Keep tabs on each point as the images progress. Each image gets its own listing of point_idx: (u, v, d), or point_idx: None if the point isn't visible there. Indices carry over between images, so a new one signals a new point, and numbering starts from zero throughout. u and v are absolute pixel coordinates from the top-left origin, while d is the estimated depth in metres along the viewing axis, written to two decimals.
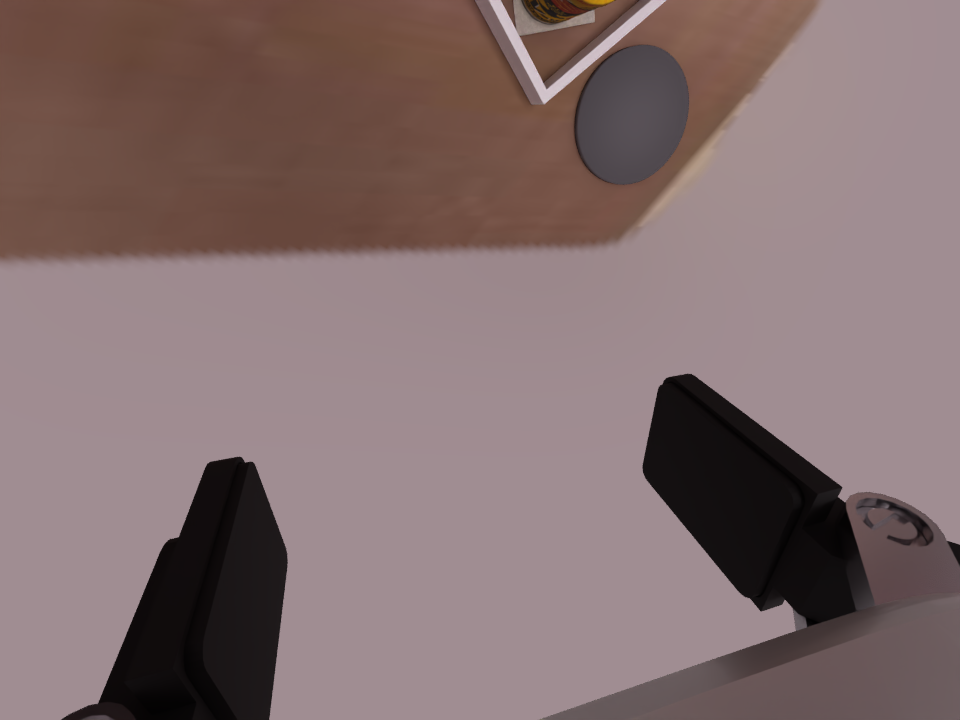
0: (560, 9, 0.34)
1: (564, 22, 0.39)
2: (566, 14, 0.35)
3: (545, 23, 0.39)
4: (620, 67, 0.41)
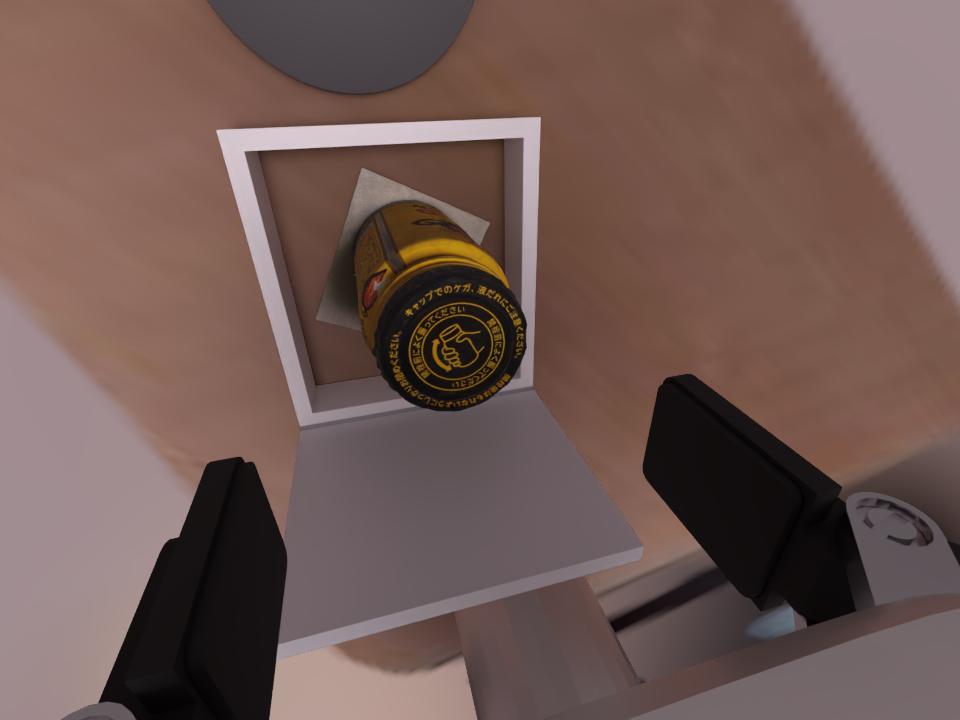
0: None
1: (412, 197, 0.23)
2: None
3: (443, 213, 0.24)
4: (340, 60, 0.19)
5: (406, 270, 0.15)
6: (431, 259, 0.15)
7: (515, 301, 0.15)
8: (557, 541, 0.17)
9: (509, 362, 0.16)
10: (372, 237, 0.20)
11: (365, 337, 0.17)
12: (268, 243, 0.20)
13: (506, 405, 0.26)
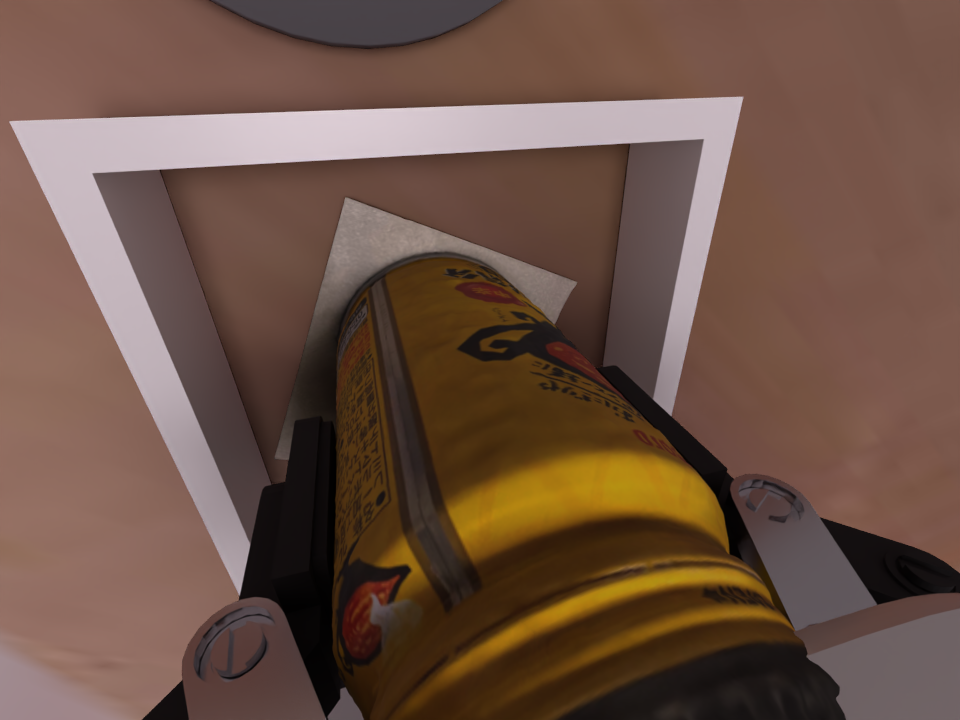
0: None
1: (442, 246, 0.13)
2: (566, 339, 0.09)
3: (497, 272, 0.13)
4: None
5: (485, 637, 0.04)
6: (574, 590, 0.04)
7: None
8: None
9: None
10: (367, 362, 0.09)
11: (351, 695, 0.06)
12: (175, 363, 0.09)
13: None
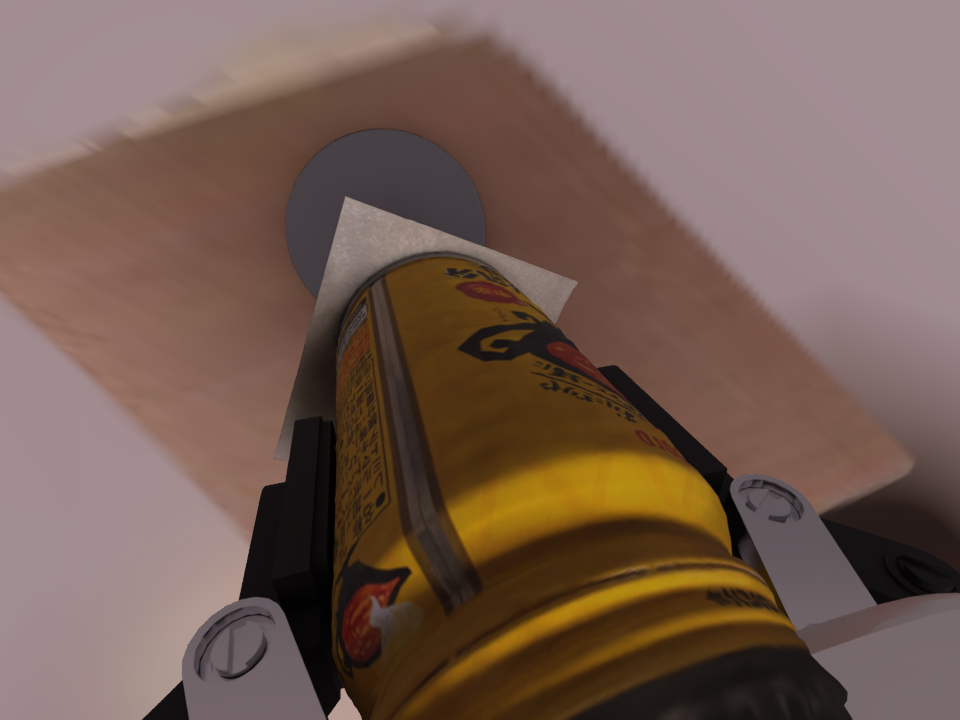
0: None
1: (443, 246, 0.13)
2: None
3: (498, 272, 0.13)
4: None
5: (486, 640, 0.04)
6: (576, 594, 0.04)
7: None
8: None
9: None
10: (367, 363, 0.09)
11: (351, 698, 0.06)
12: None
13: None
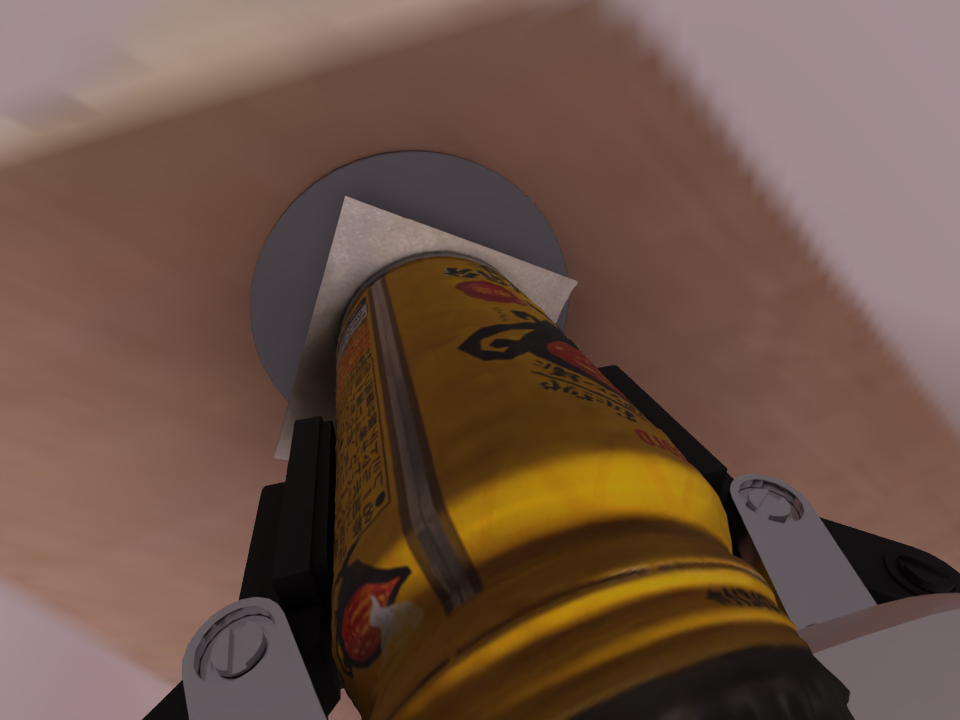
0: None
1: (442, 245, 0.13)
2: (567, 339, 0.09)
3: (498, 272, 0.13)
4: None
5: (486, 639, 0.04)
6: (576, 592, 0.04)
7: None
8: None
9: None
10: (367, 362, 0.09)
11: None
12: None
13: None
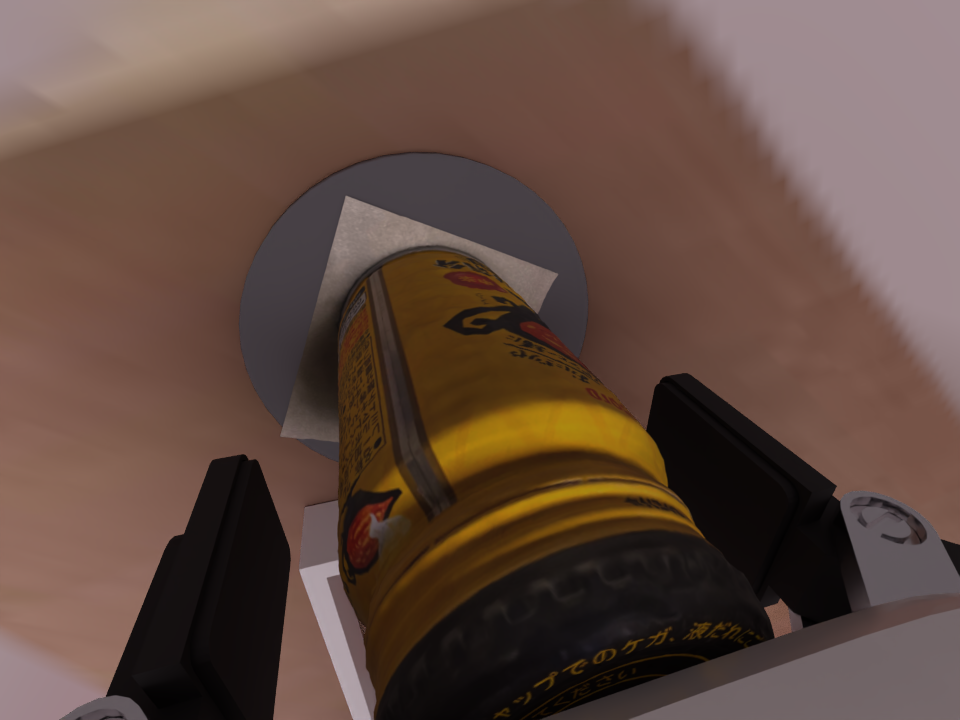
0: None
1: (434, 240, 0.14)
2: None
3: (484, 265, 0.15)
4: None
5: (457, 530, 0.05)
6: (524, 495, 0.05)
7: (763, 614, 0.05)
8: None
9: None
10: (366, 340, 0.10)
11: None
12: (344, 631, 0.19)
13: None
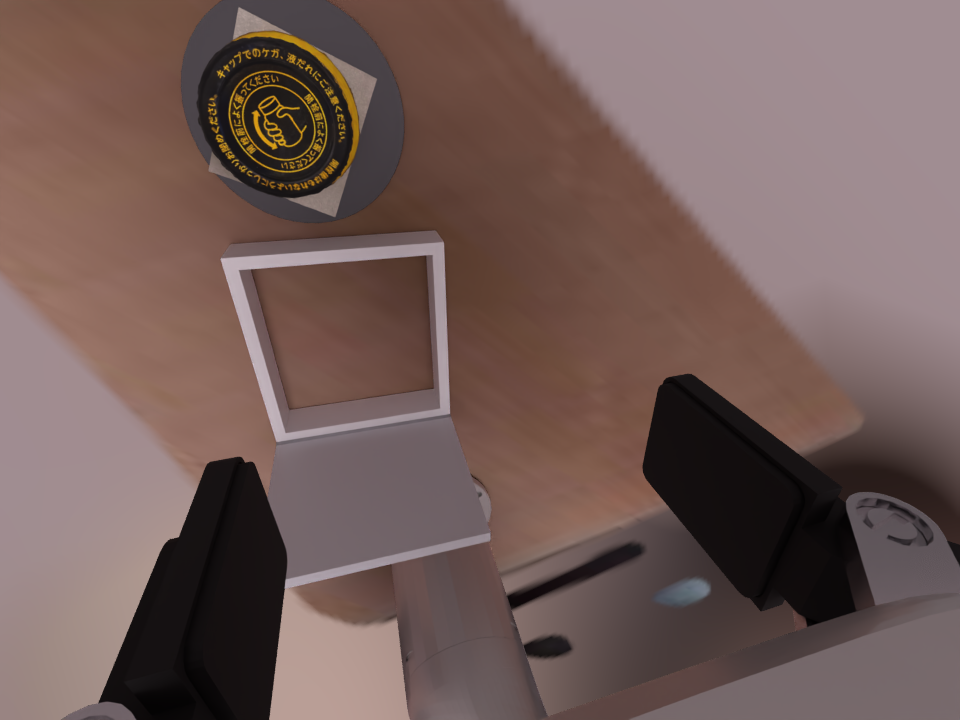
0: None
1: None
2: None
3: None
4: None
5: None
6: None
7: (330, 78, 0.16)
8: (437, 528, 0.28)
9: (334, 146, 0.17)
10: None
11: None
12: (254, 324, 0.29)
13: (427, 429, 0.36)
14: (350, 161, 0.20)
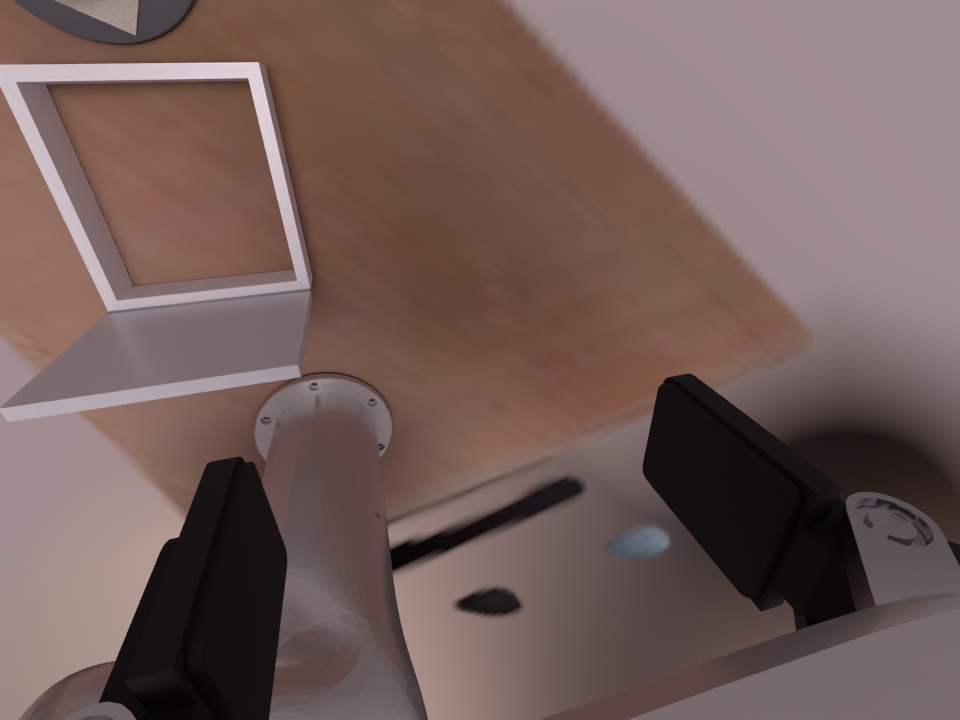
0: None
1: None
2: None
3: None
4: None
5: None
6: None
7: None
8: (240, 363, 0.25)
9: None
10: None
11: None
12: (50, 156, 0.27)
13: (279, 299, 0.33)
14: None
